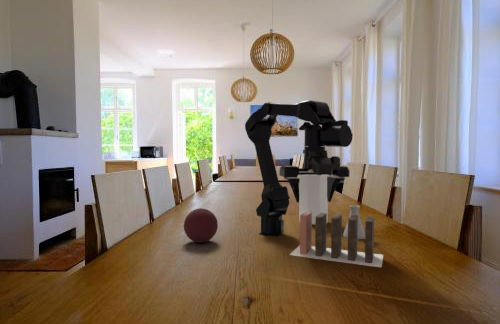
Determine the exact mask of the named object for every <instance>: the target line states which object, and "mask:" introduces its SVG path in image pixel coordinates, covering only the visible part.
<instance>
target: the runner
mask: <svg viewBox="0 0 500 324" xmlns="http://www.w3.org/2000/svg"><path fill="white" fill-rule="evenodd" d="M289 256H293V257H294V256H295V257H299V258H300V257H301V258H308V259H314V260H315V259H316V260H324V261H331V262H337V263H344V264H345V263H346V264H352V265H361V266H367V267H374V268H382V266H383V262H384V261H383V260H384V254H381V253H379V254H378V253H374V257H373V261H372V263H366V262H365V251H364V252H363V251H357V256H356V258H355V261H351V260H348V249H347V250H346V249H345V250H344V249H341V254H340V255H339V257H338V259H336V258H331V247H326V251H325V252H324V254H323V255H322V257H321V256H315V246H314V245H312V248H311V249H310V251H309V252H308V253H307V254H300V244H299V245H298V246H297V247H296V248H295V249H294V250H293V251H291V253H290V254H289Z"/></svg>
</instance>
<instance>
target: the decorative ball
mask: <svg viewBox="0 0 500 324" xmlns="http://www.w3.org/2000/svg"><path fill="white" fill-rule="evenodd" d="M218 226H219V225H218V220H217V217H216V215H215V214H214V213H213V211H211V210H209V209H207V208H202V207H199V208H195V209H192V211H190V212H189V213H188V214H187V215H186V217H185V219H184V222H183V231H184V233H185V235H186V237H187V238H188V239H189V240H191V242H195V243H199V244H202V243H206V242H209V241H210V240H212V239H213V238H214V236H215V235H216V234H217V231H218V228H219V227H218Z"/></svg>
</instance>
